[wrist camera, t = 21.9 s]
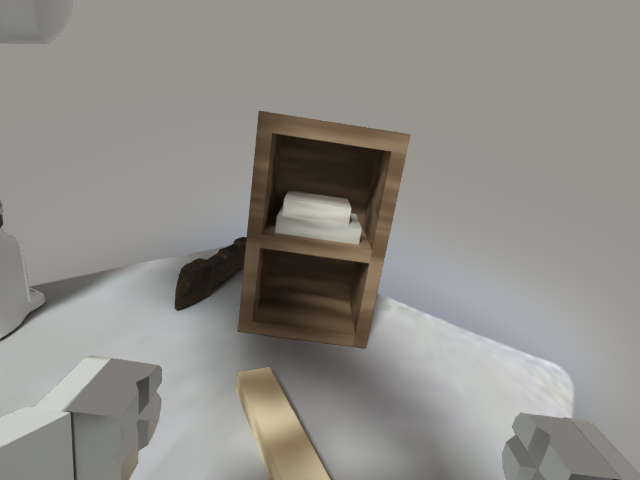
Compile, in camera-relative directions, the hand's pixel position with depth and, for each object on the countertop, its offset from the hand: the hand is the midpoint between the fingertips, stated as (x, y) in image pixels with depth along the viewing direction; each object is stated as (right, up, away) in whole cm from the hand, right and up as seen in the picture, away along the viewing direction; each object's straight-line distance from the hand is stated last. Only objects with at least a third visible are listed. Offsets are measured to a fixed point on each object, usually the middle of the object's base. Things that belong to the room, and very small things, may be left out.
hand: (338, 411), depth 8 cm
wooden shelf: (-3, -7, +43) cm, 44 cm away
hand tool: (-16, -3, +50) cm, 53 cm away
